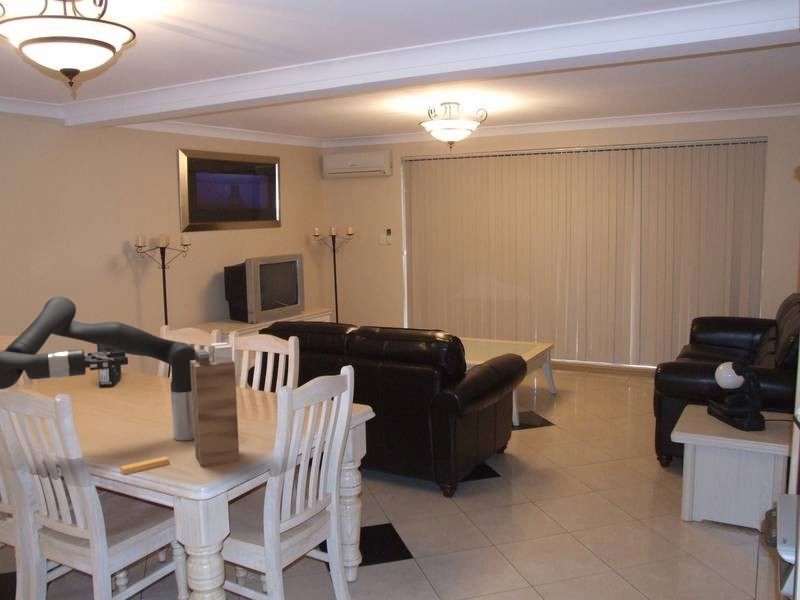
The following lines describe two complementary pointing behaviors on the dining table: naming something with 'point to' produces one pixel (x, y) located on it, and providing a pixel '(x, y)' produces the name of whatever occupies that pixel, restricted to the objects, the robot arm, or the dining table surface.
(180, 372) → the robot arm
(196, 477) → the dining table surface
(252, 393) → the dining table surface
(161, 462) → the block
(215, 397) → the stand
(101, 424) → the dining table surface
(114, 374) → the graphics card box
